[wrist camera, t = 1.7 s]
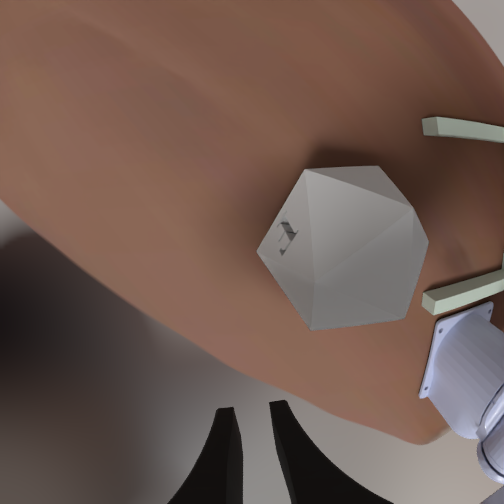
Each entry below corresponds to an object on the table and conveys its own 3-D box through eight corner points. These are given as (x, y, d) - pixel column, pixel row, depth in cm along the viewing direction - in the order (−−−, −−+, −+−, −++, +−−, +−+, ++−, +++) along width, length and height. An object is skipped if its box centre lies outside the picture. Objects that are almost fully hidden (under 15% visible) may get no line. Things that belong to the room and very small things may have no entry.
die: (347, 138, 18) (278, 125, 10) (452, 220, 15) (472, 278, 8) (288, 232, 22) (201, 279, 15) (377, 307, 20) (334, 398, 12)
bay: (505, 278, 21) (517, 284, 20) (421, 305, 21) (433, 315, 19) (510, 131, 17) (524, 132, 16) (421, 119, 17) (436, 116, 15)
